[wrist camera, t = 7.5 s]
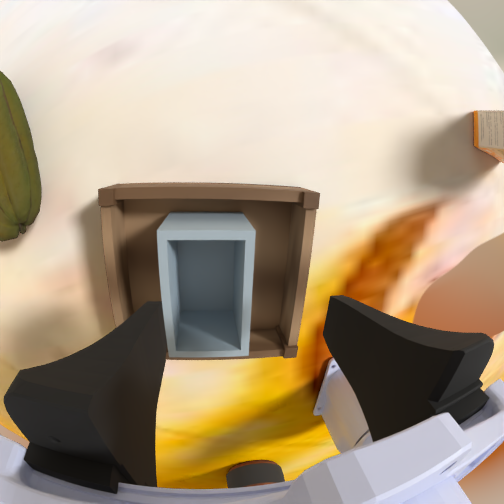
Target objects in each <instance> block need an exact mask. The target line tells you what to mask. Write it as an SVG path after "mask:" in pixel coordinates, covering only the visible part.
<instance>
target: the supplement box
mask: <svg viewBox="0 0 504 504" xmlns="http://www.w3.org/2000/svg"><path fill="white" fill-rule="evenodd" d="M474 146H475V147H476V148H478V149H480V150H482V151H484V152H486V153H488V154H490V155H492V156H493V157H495V158H496V159H497V160H499V161H500V162H503V163H504V111H474Z"/></svg>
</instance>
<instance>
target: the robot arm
mask: <svg viewBox="0 0 504 504" xmlns="http://www.w3.org/2000/svg"><path fill="white" fill-rule="evenodd" d="M323 336H324V339H325V341H326V344H327V346H328V348H329V351H330V353H331V354H332V356H333V358H331V359H330V360H329V363H328V366H327V370H326V373H325V376H324V380H323V383H322V386H321V389H320V392H319V396H318V399H317V402H316V405H315V408H314V410H313V414H314V415H315V416H317V415H322V417H323V420H324V422H325V424H326V426H327V428H328V430H329V433H330V435H331V437H332V439H333V441H334V443H335V445H336V447H337V449H338V450H339V451H340V452H341V454H338V455H336V456H333V457H330V458H328V459H325V460H323V461H322V462H320V463H318V464H316V465H314V466H312V467H311V468H309V469H307V470H305V471H304V472H303V473H302V474H301V475H300V476H298V477H297V478H296V479H295V480H291V481H286V482H280V483H274V484H267V485H260V486H251V487H240V488H226V489H172V488H158V487H157V479H156V459H155V429H156V410H157V402H158V397H159V392H160V387H161V382H162V377H163V372H164V367H165V362H166V349H167V339H166V331H165V324H164V315H163V307H162V301H147V302H146V303H145V304H144V305H142V306H141V307H140V308H139V309H138V310H137V311H136V312H135V313H133V314H132V315H131V316H130V317H129V318H128V319H127V320H125V321H124V322H123V323H122V324H121V325H119V326H118V327H117V328H115V329H114V330H113V331H112V332H110V333H109V334H108V335H106V336H105V337H103V338H102V339H100V340H99V341H97V342H95V343H94V344H92V345H90V346H89V347H87V348H85V349H83V350H81V351H78V352H76V353H74V354H72V355H70V356H68V357H65V358H63V359H60V360H57V361H55V362H52V363H49V364H45V365H41V366H37V367H33V368H29V369H24V370H20V371H19V373H18V374H17V376H16V377H15V379H14V381H13V382H12V384H11V386H10V387H9V389H8V391H7V392H6V394H5V396H4V404H5V407H6V410H7V412H8V414H9V415H10V417H11V418H12V420H13V421H14V423H15V424H16V425H17V427H18V428H19V429H20V430H21V432H22V433H23V434H24V435H25V437H26V438H27V439H28V440H29V442H30V443H29V446H28V449H26V448H25V447H24V446H22V445H21V444H19V443H17V442H15V441H13V440H11V439H8V438H6V437H4V436H2V435H0V504H471V502H470V500H469V499H468V497H467V496H466V494H465V493H464V491H463V490H462V488H461V487H460V486H459V484H458V483H457V482H458V481H459V480H461V479H462V478H463V477H464V476H466V475H467V474H468V473H470V472H471V471H472V470H473V469H474V468H475V467H477V466H478V465H479V464H480V463H481V462H482V461H483V460H485V458H487V457H488V456H489V455H490V454H491V453H492V452H493V451H494V450H495V449H496V448H497V447H498V446H499V445H500V444H501V443H502V442H503V441H504V382H503V381H502V380H501V379H498V380H497V381H496V382H494V383H493V384H492V385H490V386H489V387H488V388H487V389H486V390H485V391H484V392H483V391H482V390H481V389H480V388H481V387H482V385H483V383H482V382H481V381H480V380H479V378H480V376H481V374H482V372H483V371H484V369H485V367H486V365H487V363H488V361H489V359H490V357H491V355H492V352H493V348H494V342H493V340H492V339H491V338H490V337H489V336H487V335H486V334H483V333H459V332H450V331H449V332H448V331H442V330H436V329H432V328H427V327H423V326H419V325H416V324H412V323H409V322H406V321H403V320H400V319H398V318H395V317H393V316H390V315H388V314H385V313H383V312H381V311H378V310H376V309H374V308H372V307H370V306H367V305H365V304H363V303H361V302H359V301H356V300H354V299H352V298H349V297H346V296H343V295H339V296H330V300H329V306H328V311H327V316H326V321H325V326H324V331H323ZM332 365H333V366H332Z"/></svg>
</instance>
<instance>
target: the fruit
mask: <svg viewBox="0 0 504 504" xmlns="http://www.w3.org/2000/svg"><path fill="white" fill-rule="evenodd" d="M40 204H41V181H40V174H39V169H38V162H37V157H36V154H35V151H34V146H33V140H32V136H31V132H30V128H29V125H28V122H27V119H26V116H25V113H24V110H23V107H22V104H21V101H20V99H19V97H18V95H17V92H16V90H15V88H14V86H13V85H12V83H11V81H10V80H9V79H8V78H7V77H6V76H5V75H4V74H3V73H2V72H1V71H0V241H6V240H10V239H14V238H17V237H18V235H19V232H20V233H22V234H24V233H25V232H26V226H28V225H31V224H32V223H33V222H34V220H35V218H36V216H37V215H38V213H39V211H40Z"/></svg>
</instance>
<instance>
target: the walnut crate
mask: <svg viewBox="0 0 504 504" xmlns="http://www.w3.org/2000/svg"><path fill="white" fill-rule="evenodd" d="M98 196H99V206H101V223H102V236H103V247H104V257H105V265H106V273H107V280H108V287H109V293H110V299H111V305H112V310H113V315H114V320H115V325H116V328H117V327H118V326H119V325H121V324H122V323H123V322H124V321H125V320H127V319H128V318H129V317H130V316H131V315H132V314H133V313H135V312H136V311H137V310H138V309H139V308H140V307H141V306H142V305H144V304H145V303H146V302H147V301H162V298H161V287H160V275H159V261H158V244H157V230H158V228H159V227H160V226H161V224H162V223H163V221H164V220H165V219H166V217H167V216H168V214H169V213H170V212H185V211H206V212H243V214H244V215H245V217H246V218H247V219H248V221H249V222H250V223H251V225H252V226H253V228H254V229H255V230H256V235H255V253H254V271H253V288H252V306H251V323H250V340H249V356H235V357H169V353H168V347H167V349H166V359H169V360H225V359H249V358H265V357H278V356H283V358H294V357H296V355H297V350H298V346H297V342H298V336H299V331H300V325H301V319H302V313H303V307H304V301H305V294H306V288H307V281H308V274H309V267H310V259H311V252H312V244H313V235H314V227H315V218H316V209H318V207H319V197H320V193H318V192H314V191H311V190H307V189H304V188H301V187H289V186H274V185H257V184H233V183H130V184H116V185H112V186H108V187H105V188H101V189H98Z"/></svg>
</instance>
